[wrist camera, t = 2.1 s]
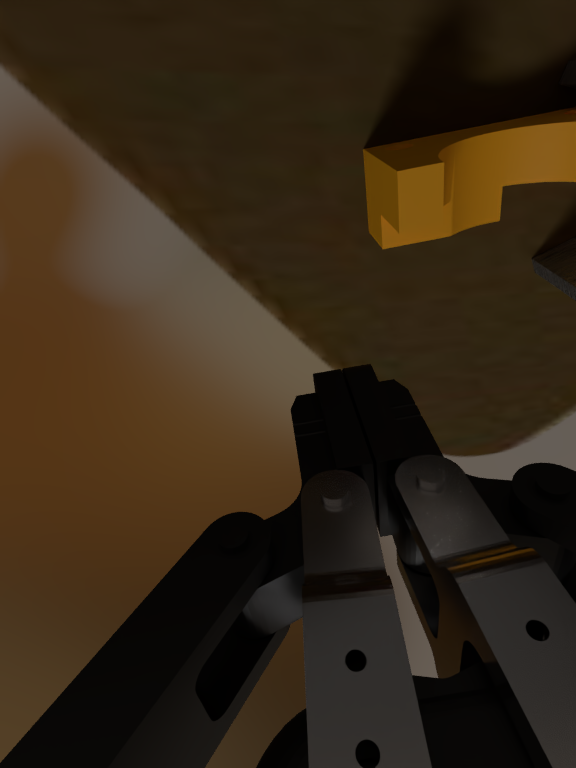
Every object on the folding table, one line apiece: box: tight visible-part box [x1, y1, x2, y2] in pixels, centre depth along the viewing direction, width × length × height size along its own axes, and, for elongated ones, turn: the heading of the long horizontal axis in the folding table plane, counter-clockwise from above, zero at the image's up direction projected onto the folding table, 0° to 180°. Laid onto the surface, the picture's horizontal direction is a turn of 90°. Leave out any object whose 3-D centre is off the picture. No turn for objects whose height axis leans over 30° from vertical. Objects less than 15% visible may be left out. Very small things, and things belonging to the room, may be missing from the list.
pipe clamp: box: [363, 107, 576, 249], centre depth 23 cm, size 12×4×6 cm, turn 99°
